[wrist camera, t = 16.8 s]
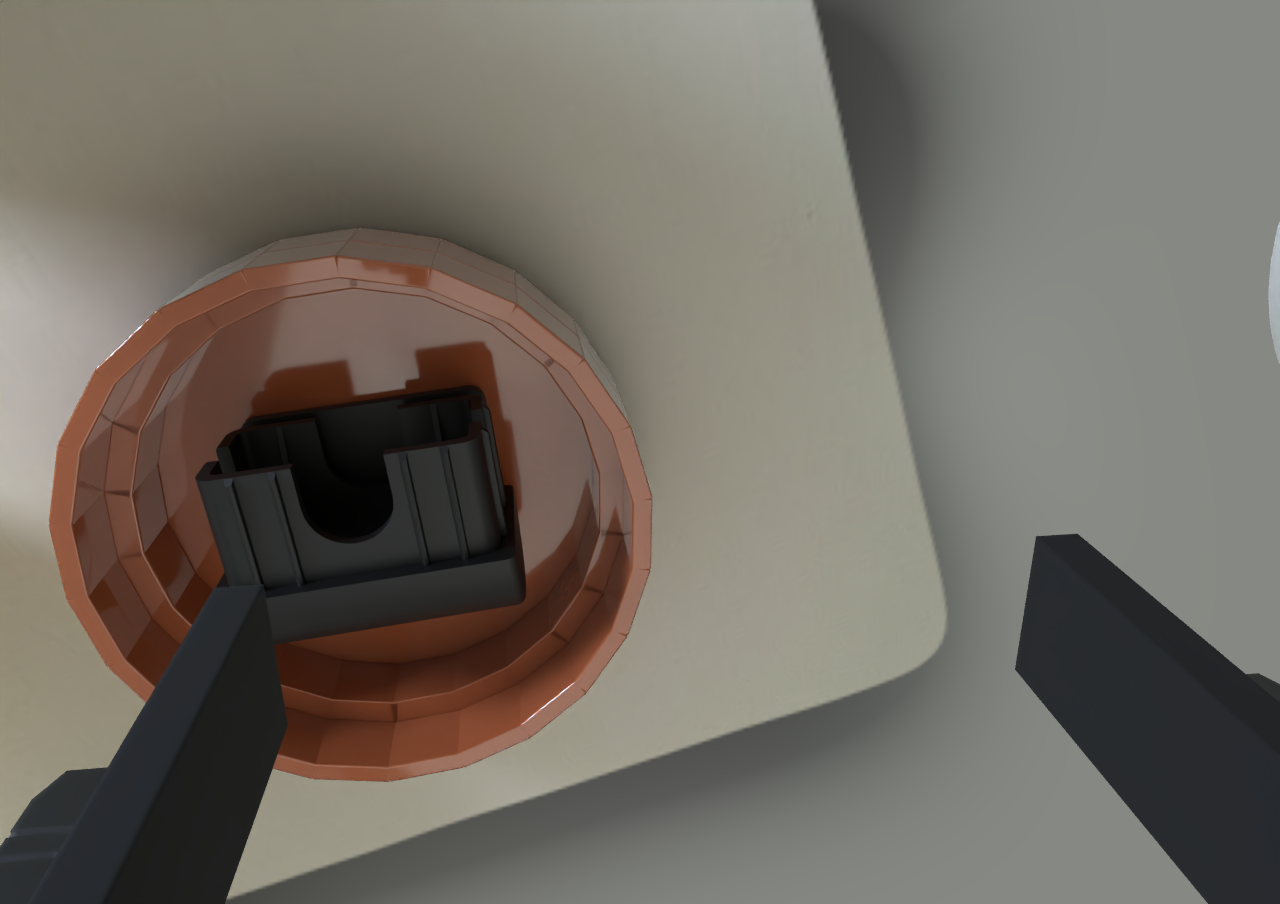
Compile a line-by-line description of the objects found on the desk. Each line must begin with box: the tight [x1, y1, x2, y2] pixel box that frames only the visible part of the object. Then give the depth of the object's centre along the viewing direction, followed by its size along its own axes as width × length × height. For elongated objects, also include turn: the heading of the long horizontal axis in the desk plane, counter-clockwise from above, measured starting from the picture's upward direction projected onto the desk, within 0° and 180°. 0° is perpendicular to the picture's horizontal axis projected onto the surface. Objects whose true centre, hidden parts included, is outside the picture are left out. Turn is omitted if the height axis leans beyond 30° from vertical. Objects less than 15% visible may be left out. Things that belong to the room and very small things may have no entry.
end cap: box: [195, 385, 526, 645], centre depth 34 cm, size 10×7×7 cm
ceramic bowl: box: [49, 228, 652, 782], centre depth 35 cm, size 19×20×6 cm
